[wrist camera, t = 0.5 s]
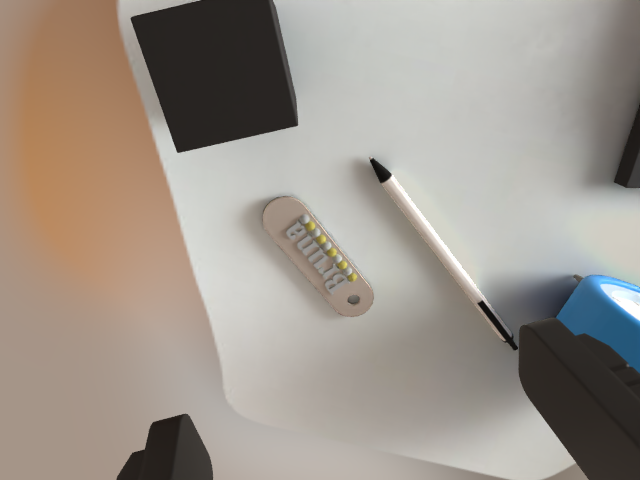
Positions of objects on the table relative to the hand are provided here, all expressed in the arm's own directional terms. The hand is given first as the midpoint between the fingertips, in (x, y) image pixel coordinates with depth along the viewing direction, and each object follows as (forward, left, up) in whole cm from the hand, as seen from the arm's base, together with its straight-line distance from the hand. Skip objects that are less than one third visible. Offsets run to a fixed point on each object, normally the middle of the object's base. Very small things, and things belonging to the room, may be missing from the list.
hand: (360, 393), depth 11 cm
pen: (+6, +9, -19) cm, 22 cm away
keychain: (+6, 0, -19) cm, 20 cm away
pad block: (-6, -5, -19) cm, 20 cm away
